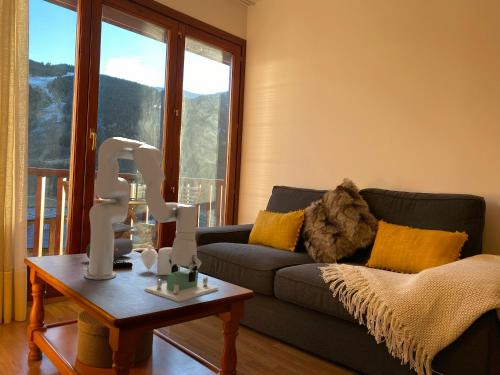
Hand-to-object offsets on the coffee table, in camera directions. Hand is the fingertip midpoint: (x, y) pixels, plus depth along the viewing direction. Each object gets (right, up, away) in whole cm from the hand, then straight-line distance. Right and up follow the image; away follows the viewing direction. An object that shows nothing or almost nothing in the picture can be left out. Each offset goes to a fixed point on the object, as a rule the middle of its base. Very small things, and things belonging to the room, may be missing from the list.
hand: (182, 279), depth 158 cm
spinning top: (-20, -3, +27) cm, 34 cm away
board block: (0, -3, 0) cm, 3 cm away
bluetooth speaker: (-45, -1, +47) cm, 65 cm away
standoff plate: (0, -5, 0) cm, 5 cm away
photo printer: (-11, -4, +23) cm, 26 cm away
